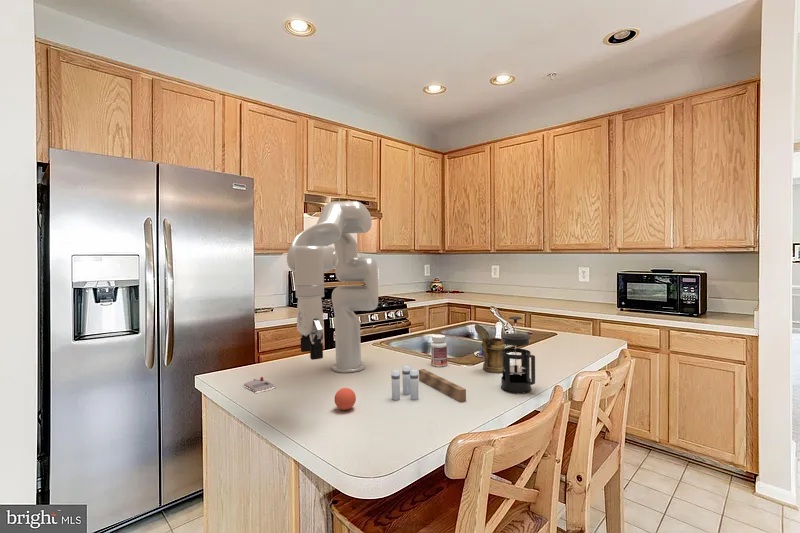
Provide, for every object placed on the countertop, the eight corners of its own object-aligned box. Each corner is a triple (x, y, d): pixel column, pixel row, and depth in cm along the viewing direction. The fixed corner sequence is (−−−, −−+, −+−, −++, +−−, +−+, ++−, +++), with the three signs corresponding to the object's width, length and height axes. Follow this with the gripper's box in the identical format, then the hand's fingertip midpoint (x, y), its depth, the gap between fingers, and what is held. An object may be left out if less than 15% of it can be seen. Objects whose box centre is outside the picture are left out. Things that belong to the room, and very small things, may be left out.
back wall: (419, 379, 140) (418, 369, 139) (424, 379, 140) (423, 369, 140) (460, 402, 118) (460, 390, 118) (466, 401, 119) (465, 389, 119)
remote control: (259, 396, 128) (258, 387, 128) (239, 385, 139) (238, 377, 139) (278, 391, 132) (278, 382, 132) (257, 381, 144) (257, 372, 144)
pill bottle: (450, 365, 157) (450, 336, 156) (437, 368, 153) (437, 338, 153) (440, 361, 162) (439, 333, 161) (428, 364, 158) (427, 335, 158)
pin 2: (408, 397, 123) (408, 370, 122) (416, 396, 124) (415, 368, 123) (412, 400, 120) (412, 372, 120) (420, 398, 122) (419, 370, 121)
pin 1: (401, 392, 127) (400, 366, 127) (408, 391, 128) (407, 364, 128) (405, 395, 125) (404, 368, 125) (412, 393, 126) (411, 366, 126)
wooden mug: (468, 370, 149) (467, 322, 149) (495, 364, 156) (494, 318, 156) (485, 376, 142) (484, 325, 141) (512, 370, 149) (512, 321, 148)
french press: (493, 388, 130) (492, 316, 129) (510, 381, 136) (510, 313, 135) (524, 397, 121) (524, 321, 120) (542, 390, 127) (541, 317, 126)
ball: (331, 407, 116) (331, 387, 116) (351, 403, 119) (351, 383, 118) (338, 415, 111) (338, 393, 110) (359, 410, 113) (358, 389, 113)
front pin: (390, 398, 123) (389, 370, 122) (397, 396, 124) (397, 369, 123) (394, 401, 120) (393, 372, 120) (401, 399, 121) (401, 371, 121)
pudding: (509, 356, 170) (509, 344, 169) (488, 361, 163) (488, 348, 163) (488, 350, 180) (488, 339, 179) (468, 355, 173) (467, 342, 173)
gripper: (288, 290, 115) (290, 350, 116) (304, 295, 100) (306, 364, 100) (314, 288, 119) (316, 347, 119) (333, 293, 103) (335, 360, 104)
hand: (311, 354), depth 110 cm, fingers open, 9 cm apart
